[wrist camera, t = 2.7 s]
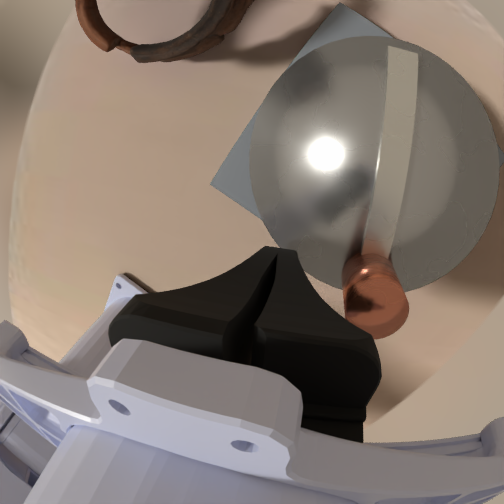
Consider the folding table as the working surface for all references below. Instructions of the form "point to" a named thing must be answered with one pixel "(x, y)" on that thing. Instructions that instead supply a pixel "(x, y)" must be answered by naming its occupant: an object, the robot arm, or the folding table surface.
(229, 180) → the wheel base
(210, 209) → the folding table surface
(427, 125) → the handwheel
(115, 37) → the brown curved ring
